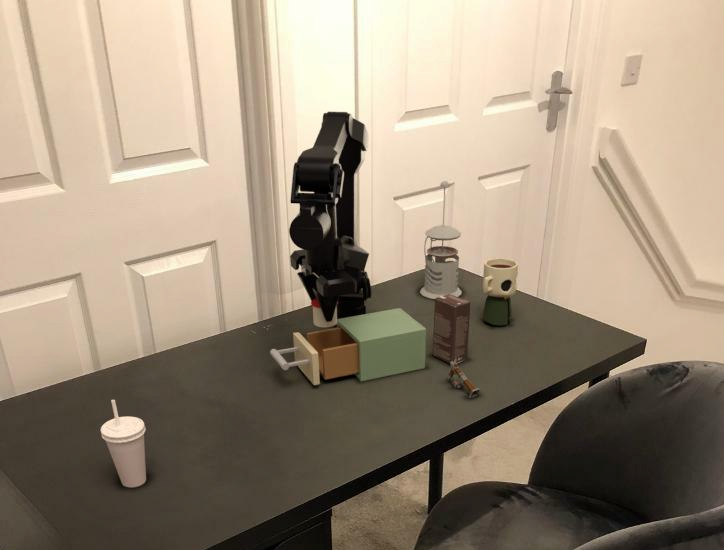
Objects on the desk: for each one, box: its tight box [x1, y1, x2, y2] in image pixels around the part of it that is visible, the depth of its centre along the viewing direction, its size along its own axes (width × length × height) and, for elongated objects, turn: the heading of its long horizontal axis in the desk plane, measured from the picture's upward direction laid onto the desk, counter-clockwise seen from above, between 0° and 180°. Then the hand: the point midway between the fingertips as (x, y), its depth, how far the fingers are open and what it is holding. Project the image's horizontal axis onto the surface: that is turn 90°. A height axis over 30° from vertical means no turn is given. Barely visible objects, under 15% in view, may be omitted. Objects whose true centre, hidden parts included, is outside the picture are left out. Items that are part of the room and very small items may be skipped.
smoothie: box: [100, 399, 147, 488], centre depth 123 cm, size 6×6×14 cm
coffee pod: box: [310, 298, 338, 328], centre depth 152 cm, size 5×5×4 cm
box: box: [432, 294, 472, 364], centre depth 160 cm, size 6×4×12 cm
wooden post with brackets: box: [446, 361, 481, 399], centre depth 151 cm, size 2×8×4 cm, turn 35°
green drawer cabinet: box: [336, 307, 427, 382], centre depth 159 cm, size 14×12×8 cm
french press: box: [419, 180, 463, 300], centre depth 186 cm, size 10×12×25 cm
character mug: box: [482, 257, 519, 326], centre depth 174 cm, size 11×7×13 cm, turn 138°
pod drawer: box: [269, 326, 359, 386], centre depth 155 cm, size 18×10×6 cm, turn 115°
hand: (324, 316), depth 152 cm, fingers closed on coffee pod, 4 cm apart
